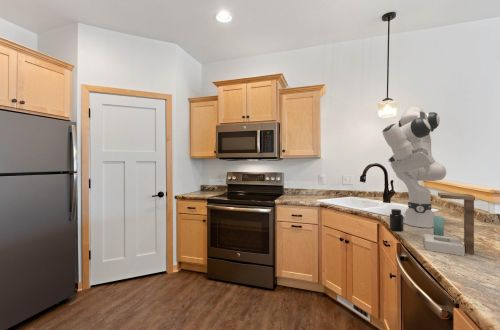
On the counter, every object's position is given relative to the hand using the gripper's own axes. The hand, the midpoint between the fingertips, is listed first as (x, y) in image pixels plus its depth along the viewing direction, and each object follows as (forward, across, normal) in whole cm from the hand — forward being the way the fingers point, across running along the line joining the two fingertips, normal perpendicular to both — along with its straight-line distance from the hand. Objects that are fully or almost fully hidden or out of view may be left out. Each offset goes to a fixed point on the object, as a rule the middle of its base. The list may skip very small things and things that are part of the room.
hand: (419, 176), depth 117 cm
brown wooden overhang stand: (+33, -6, +13) cm, 36 cm away
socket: (+31, -2, +15) cm, 34 cm away
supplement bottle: (+26, +25, +7) cm, 37 cm away
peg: (+32, +5, +6) cm, 33 cm away
